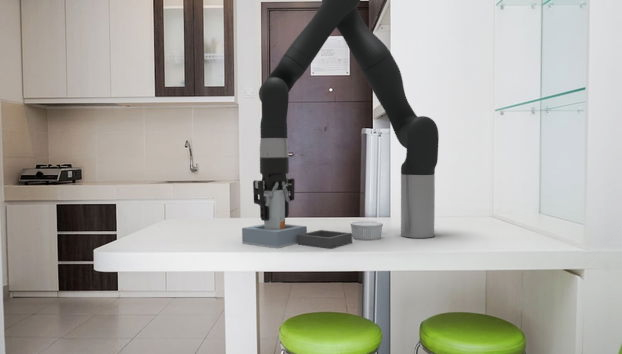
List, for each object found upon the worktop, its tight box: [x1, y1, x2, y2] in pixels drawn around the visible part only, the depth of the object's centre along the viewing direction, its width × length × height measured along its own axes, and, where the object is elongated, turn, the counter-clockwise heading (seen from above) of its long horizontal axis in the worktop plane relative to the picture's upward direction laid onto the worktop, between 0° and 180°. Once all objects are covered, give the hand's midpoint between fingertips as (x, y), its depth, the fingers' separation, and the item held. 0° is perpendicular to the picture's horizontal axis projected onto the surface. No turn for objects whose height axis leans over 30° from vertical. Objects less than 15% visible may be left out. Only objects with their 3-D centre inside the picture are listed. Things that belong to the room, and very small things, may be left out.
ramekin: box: [350, 220, 384, 241], centre depth 140 cm, size 9×9×4 cm
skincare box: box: [263, 190, 286, 230], centre depth 134 cm, size 6×4×12 cm
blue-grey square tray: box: [241, 223, 308, 249], centre depth 134 cm, size 12×12×4 cm
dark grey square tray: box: [297, 229, 353, 249], centre depth 131 cm, size 10×10×2 cm
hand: (275, 218), depth 134 cm, fingers closed on skincare box, 7 cm apart
